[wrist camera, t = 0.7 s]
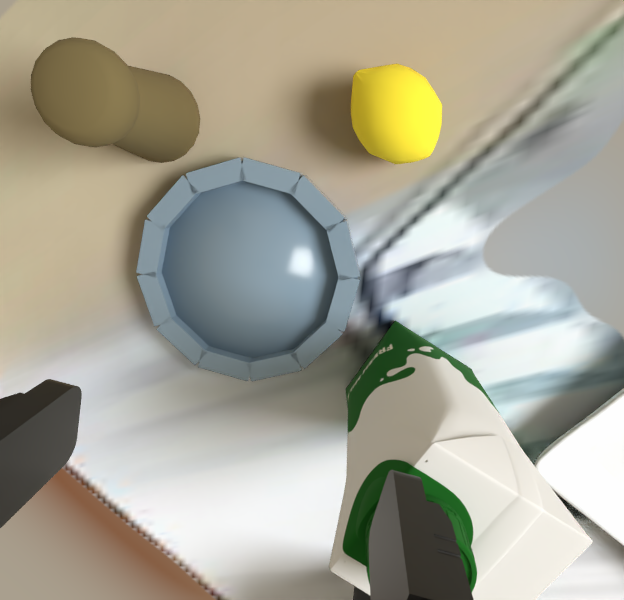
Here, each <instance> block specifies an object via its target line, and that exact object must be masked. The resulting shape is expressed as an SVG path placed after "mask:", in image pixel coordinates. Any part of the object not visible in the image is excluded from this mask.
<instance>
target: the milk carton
mask: <svg viewBox="0 0 624 600" xmlns="http://www.w3.org/2000/svg"><path fill="white" fill-rule="evenodd" d="M346 397H347V406H348V438H347V476H346V485H345V490H344V495H343V500H342V505H341V510H340V515H339V520H338V525H337V530H336V535H335V539H334V544H333V549H332V554H331V559H330V563H329V568H330V571H331V572H333V573H334V574H336V575H337V576H339V577H341V578H342V579H344V580H346V581H347V582H349V583H350V584H352V585H354V586H355V587H357V588H359V589H360V590H362V591H364V592H365V593H367V594H368V595H370V572H369V536H370V529H371V525H372V521H373V517H374V514H375V511H376V508H377V505H378V502H379V499H380V496H381V493H382V490H383V487H384V484H385V481H386V478H387V475H388V473H389V471H390V470H395V471H398V472H402V473H406V474H410V475H414V476H417V477H420V478H421V479H422V483H423V487H424V492H425V496H426V501H429V502H433V503H437V504H439V505H440V506H441V508H442V509H443V511H444V512H445V513H446V515H447V516H448V518H449V519H450V520H451V522H452V525H453V529H454V532H455V536H456V539H457V541H456V543H457V544H458V546H459V550H460V554H461V559H462V561H463V564H464V568H465V571H466V575H467V578H468V582H469V585H470V589H471V593H472V596H473V600H535V599H536V598H537V597H538V596H539V595H540V594H541V593H542V592H543V591H544V590H545V589H546V588H547V587H548V586H549V585H550V584H551V583H552V582H553V581H554V580H555V579H556V578H557V577H558V576H559V575H560V574H561V573H563V572H564V571H565V570H566V569H567V568H568V567H569V566H570V565H571V564H572V563H573V562H574V561H575V560H576V559H577V558H578V557H579V556H580V555H581V554H582V553H583V552H584V551H585V550H586V549H587V548H588V547H589V546H590V545H591V544H592V542H593V541H592V539H591V538H590V537H589V536H588V535H587V534H586V532H585V531H584V530H583V529H582V527H581V526H580V525H579V523H578V522H577V521H576V519H575V518H574V517H573V516H572V514H571V513H570V512H569V510H568V509H567V508H566V507H565V505H564V504H563V503H562V501H561V500H560V499H559V497H558V496H557V495H556V494H555V492H554V491H553V490H552V488H551V487H550V486H549V484H548V483H547V482H546V480H545V479H544V478H543V477H542V475H541V474H540V473H539V471H538V470H537V469H536V467H535V466H534V465H533V463H532V462H531V461H530V460H529V458H528V457H527V456H526V454H525V453H524V451H523V450H522V448H521V447H520V446H519V444H518V442H517V441H516V439H515V437H514V436H513V434H512V433H511V431H510V430H509V428H508V426H507V425H506V423H505V422H504V420H503V419H502V417H501V415H500V414H499V412H498V411H497V409H496V408H495V406H494V405H493V403H492V401H491V400H490V398H489V397H488V395H487V394H486V392H485V390H484V389H483V387H482V386H481V384H480V383H479V381H478V380H477V378H476V377H475V375H474V373H473V371H472V369H470V368H469V367H467V366H466V365H464V364H463V363H461V362H459V361H458V360H456V359H455V358H453V357H452V356H450V355H448V354H447V353H445V352H444V351H442V350H441V349H439V348H437V347H436V346H434V345H433V344H431V343H430V342H428V341H426V340H425V339H423V338H422V337H420V336H419V335H417V334H415V333H414V332H412V331H411V330H409V329H408V328H406V327H404V326H403V325H401V324H400V323H398V322H397V321H394V323H393V324H392V326H391V327H390V328H389V330H388V331H387V333H386V334H385V335H384V337H383V338H382V340H381V341H380V342H379V344H378V345H377V346H376V348H375V349H374V351H373V352H372V353H371V355H370V356H369V358H368V359H367V360H366V362H365V363H364V365H363V366H362V367H361V369H360V370H359V372H358V373H357V374H356V376H355V377H354V378H353V380H352V381H351V383H350V384H349V385H348V387H347V388H346Z"/></svg>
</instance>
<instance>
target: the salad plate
mask: <svg viewBox="0 0 624 600" xmlns="http://www.w3.org/2000/svg"><path fill="white" fill-rule="evenodd" d="M534 466H535V467H536V469H537V470H538V471H539V473H540V474H541V475H542V477H543V478H544V479H545V480H546V482H547V483H548V484H549V486H550V487H551V488H552V489H553V490H554V491H555V492H556V493H557V494H558V495H559V496H561V497H562V498H563V499H564V500H566V501H567V502H568V503H570V504H571V505H572V506H573V507H575V508H576V509H577V510H578V511H580V512H581V513H582V514H584V515H585V516H586V517H587V518H589V519H590V520H591V521H592V522H594V523H595V524H596V525H598V526H599V527H600V528H601V529H603V530H604V531H605V532H607V533H608V534H609V535H610V536H611V537H613V538H614V539H615V540H617V541H618V542H619V543H621V544H622V545H623V546H624V388H623V389H622V390H620V391H619V392H618V393H617V394H615V395H614V396H613V397H612V398H610V399H609V400H608V401H607V402H605V403H604V404H603V405H602V406H600V407H599V408H598V409H596V410H595V411H594V412H593V413H591V414H590V415H589V416H587V417H586V418H585V419H584V420H582V421H581V422H580V423H578V424H577V425H575V426H574V427H573V428H571V429H570V430H569V431H567V432H566V433H565V434H563V435H562V436H560V437H559V438H558V439H556V440H555V441H554V442H553V443H552V444H550V445H549V446H548V447H547V448H546V449H545V450H544V451H543V452H542V453H541V454H540V455H539V457H538V458H537V460H536V462H535V465H534Z"/></svg>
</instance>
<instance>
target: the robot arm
mask: <svg viewBox="0 0 624 600" xmlns="http://www.w3.org/2000/svg"><path fill="white" fill-rule="evenodd" d="M80 405H81V389H80V388H79V387H78V386H74V385H70V384H66V383H62V382H59V381H55V380H51V379H48V380H45V381H44V382H42V383H40V384H39V385H37V386H36V387H34V388H33V389H31V390H30V391H28V392H27V393H25V394H23V393H17V394H14V395H11V396H8V397H5V398H2V399H0V528H1V527H2V526H3V525H4V524H5V523H6V522H7V521H8V520H9V519H10V518H11V517H12V516H13V515H14V514H15V513H16V512H17V511H18V510H19V509H20V508H21V507H22V506H23V505H25V504H26V502H27V501H29V500H30V499H31V498H32V497H33V496H34V495H35V494H36V493H37V492H38V491H39V490H40V489H41V488H42V487H43V486H44V485H45V484H46V483H47V482H48V481H49V480H50V479H51V478H52V477H53V476H54V475H55V474H56V473H57V472H58V471H59V470H60V469H61V468H62V467H63V466H64V465H65V464H66V463H67V461H68V460H69V458H70V456H71V455H72V453H73V450H74V448H75V445H76V441H77V432H78V423H79V414H80ZM456 541H457V539H456V536H455V532H454V529H453V525H452V522H451V520H450V519H449V518H448V516H447V515H446V513H445V512H444V511H443V509H442V508H441V506H440V505H439V504H437V503H433V502H429V501H426V496H425V492H424V487H423V483H422V479H421V478H420V477H417V476H414V475H410V474H406V473H402V472H398V471H395V470H390V471H389V473H388V475H387V478H386V481H385V484H384V487H383V490H382V493H381V496H380V499H379V502H378V505H377V508H376V511H375V514H374V517H373V521H372V525H371V529H370V536H369V572H370V599H371V600H473V596H472V593H471V589H470V585H469V582H468V578H467V575H466V571H465V568H464V564H463V561H462V559H461V554H460V550H459V546H458V544H457V543H456Z"/></svg>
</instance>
